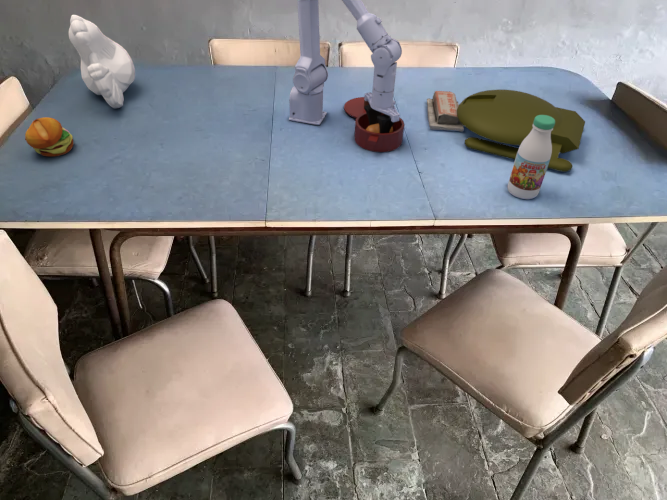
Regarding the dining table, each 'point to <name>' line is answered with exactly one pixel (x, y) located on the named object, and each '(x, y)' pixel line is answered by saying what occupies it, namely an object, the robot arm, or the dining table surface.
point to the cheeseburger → (49, 137)
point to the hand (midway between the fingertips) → (378, 134)
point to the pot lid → (355, 106)
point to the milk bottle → (532, 159)
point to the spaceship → (517, 124)
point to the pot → (378, 135)
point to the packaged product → (443, 112)
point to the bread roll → (376, 128)
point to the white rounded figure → (101, 61)
